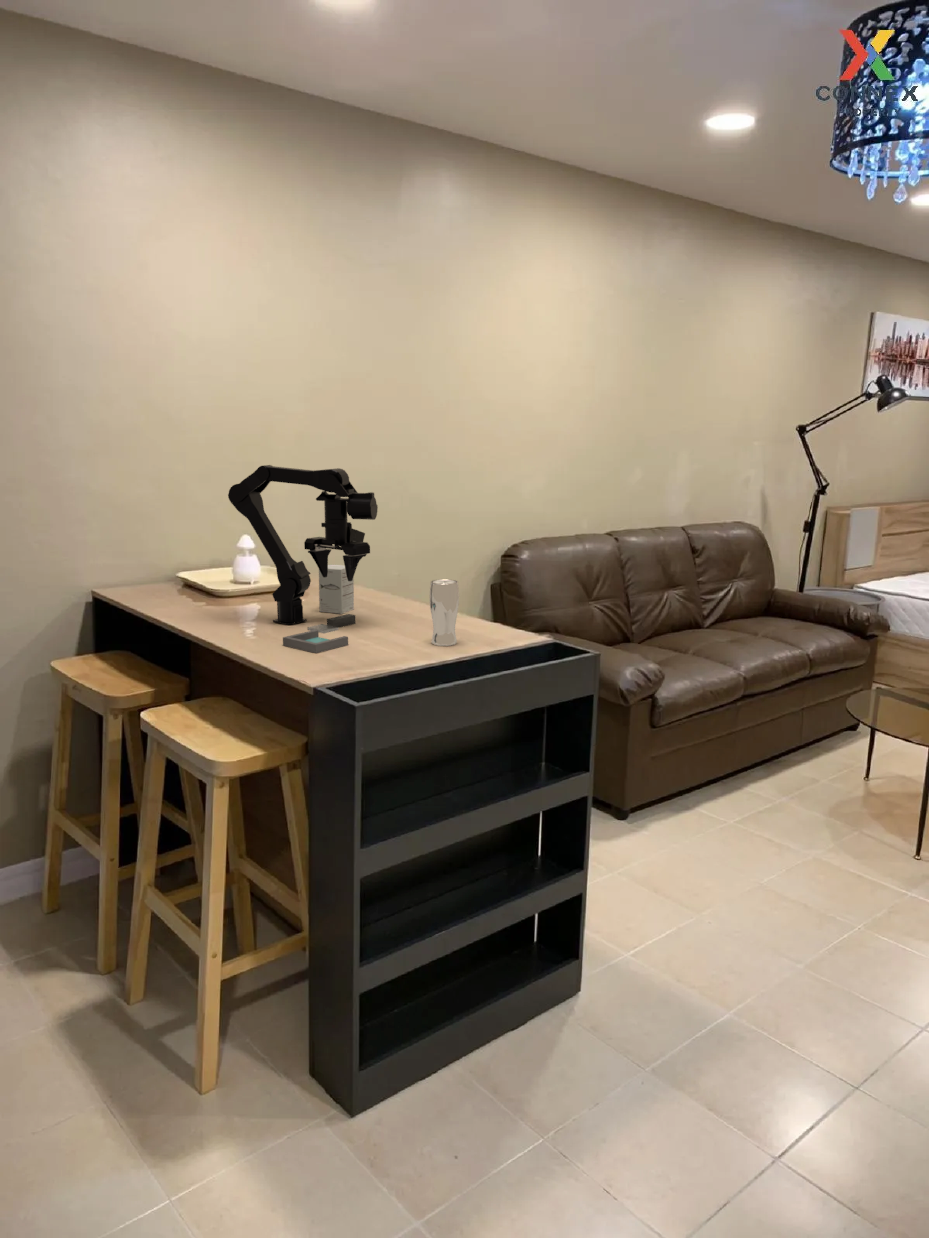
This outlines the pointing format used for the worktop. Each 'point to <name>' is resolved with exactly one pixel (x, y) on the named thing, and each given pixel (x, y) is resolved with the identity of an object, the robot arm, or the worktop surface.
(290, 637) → the corral
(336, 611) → the supplement box
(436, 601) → the beer glass
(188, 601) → the worktop surface
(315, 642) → the tile
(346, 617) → the turner
